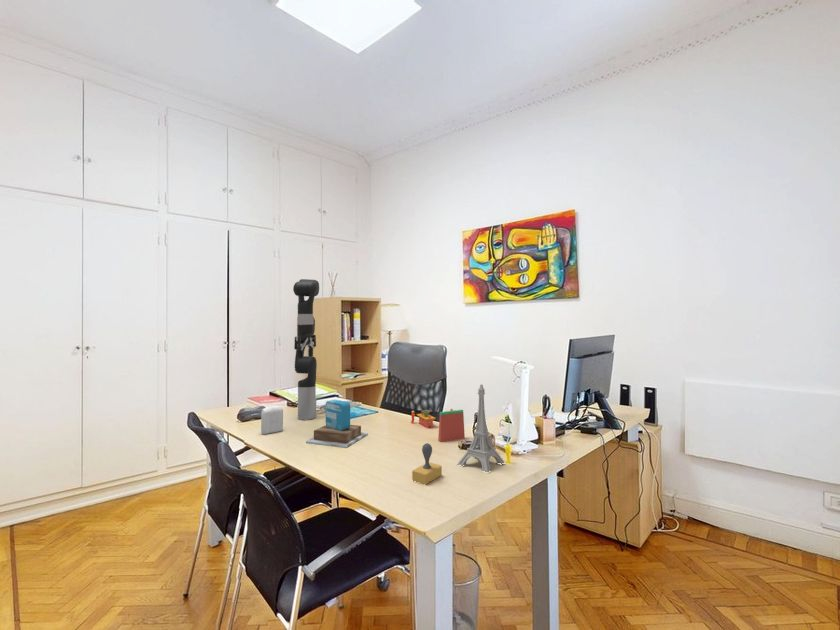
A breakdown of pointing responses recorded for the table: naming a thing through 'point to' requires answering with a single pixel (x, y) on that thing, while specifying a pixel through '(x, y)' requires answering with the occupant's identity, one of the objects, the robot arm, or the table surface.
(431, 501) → the table surface
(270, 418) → the photo printer
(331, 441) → the base
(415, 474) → the rubber stamp
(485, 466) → the eiffel tower
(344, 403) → the data package
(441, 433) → the toy building block set
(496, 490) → the table surface
